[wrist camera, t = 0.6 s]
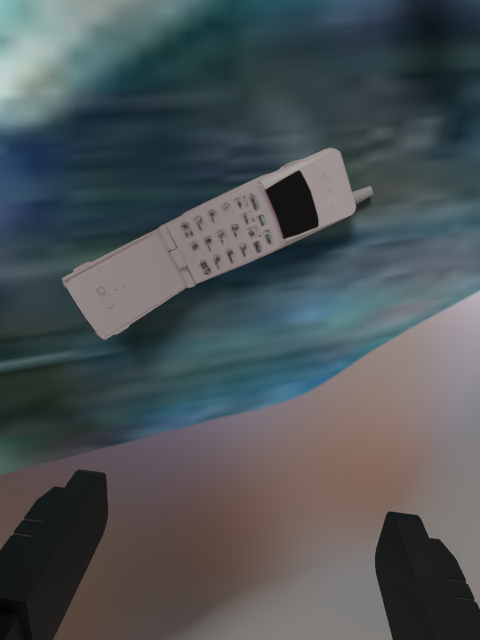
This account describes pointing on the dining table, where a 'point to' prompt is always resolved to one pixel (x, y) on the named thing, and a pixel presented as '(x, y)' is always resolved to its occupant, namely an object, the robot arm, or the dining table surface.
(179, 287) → the mobile phone
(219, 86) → the dining table surface
